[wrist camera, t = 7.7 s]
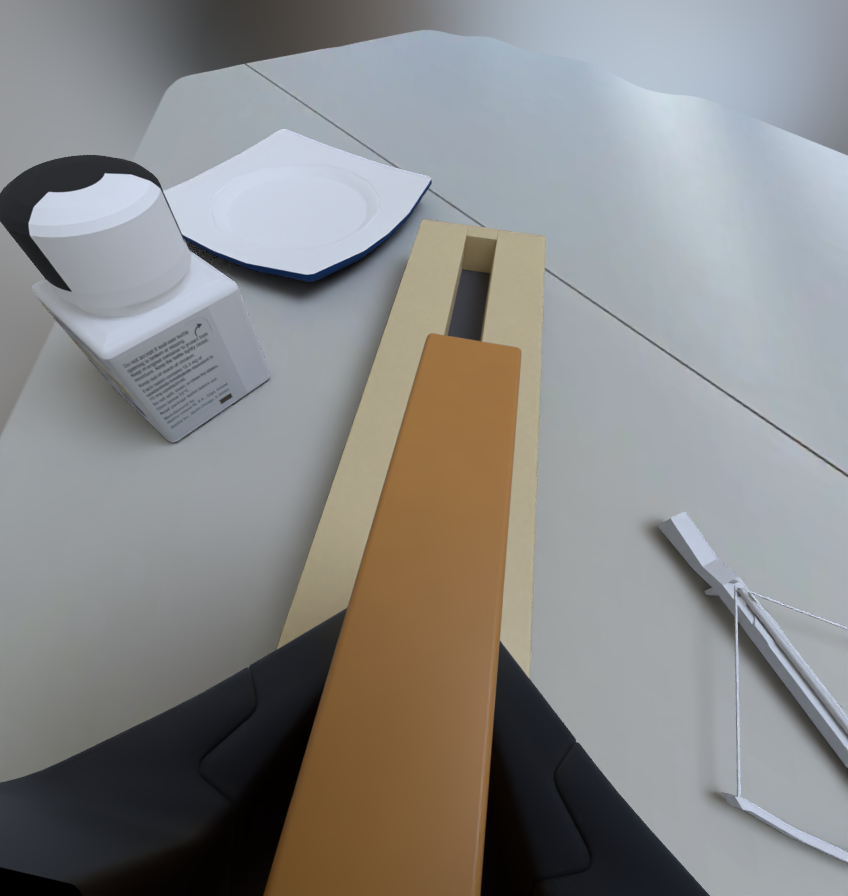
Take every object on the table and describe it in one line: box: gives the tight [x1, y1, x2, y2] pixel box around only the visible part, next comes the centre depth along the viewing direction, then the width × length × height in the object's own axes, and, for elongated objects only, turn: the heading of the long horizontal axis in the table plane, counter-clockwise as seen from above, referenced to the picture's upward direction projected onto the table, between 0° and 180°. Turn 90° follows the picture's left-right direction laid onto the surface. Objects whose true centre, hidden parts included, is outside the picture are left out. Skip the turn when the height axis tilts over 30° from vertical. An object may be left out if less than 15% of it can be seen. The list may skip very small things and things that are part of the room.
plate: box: [163, 129, 431, 282], centre depth 40 cm, size 20×20×3 cm
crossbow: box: [658, 511, 848, 863], centre depth 20 cm, size 16×13×2 cm
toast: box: [263, 333, 522, 896], centre depth 8 cm, size 8×1×11 cm, turn 169°
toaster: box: [276, 219, 546, 679], centre depth 25 cm, size 40×11×4 cm, turn 170°
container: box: [0, 155, 270, 442], centre depth 24 cm, size 8×8×13 cm
